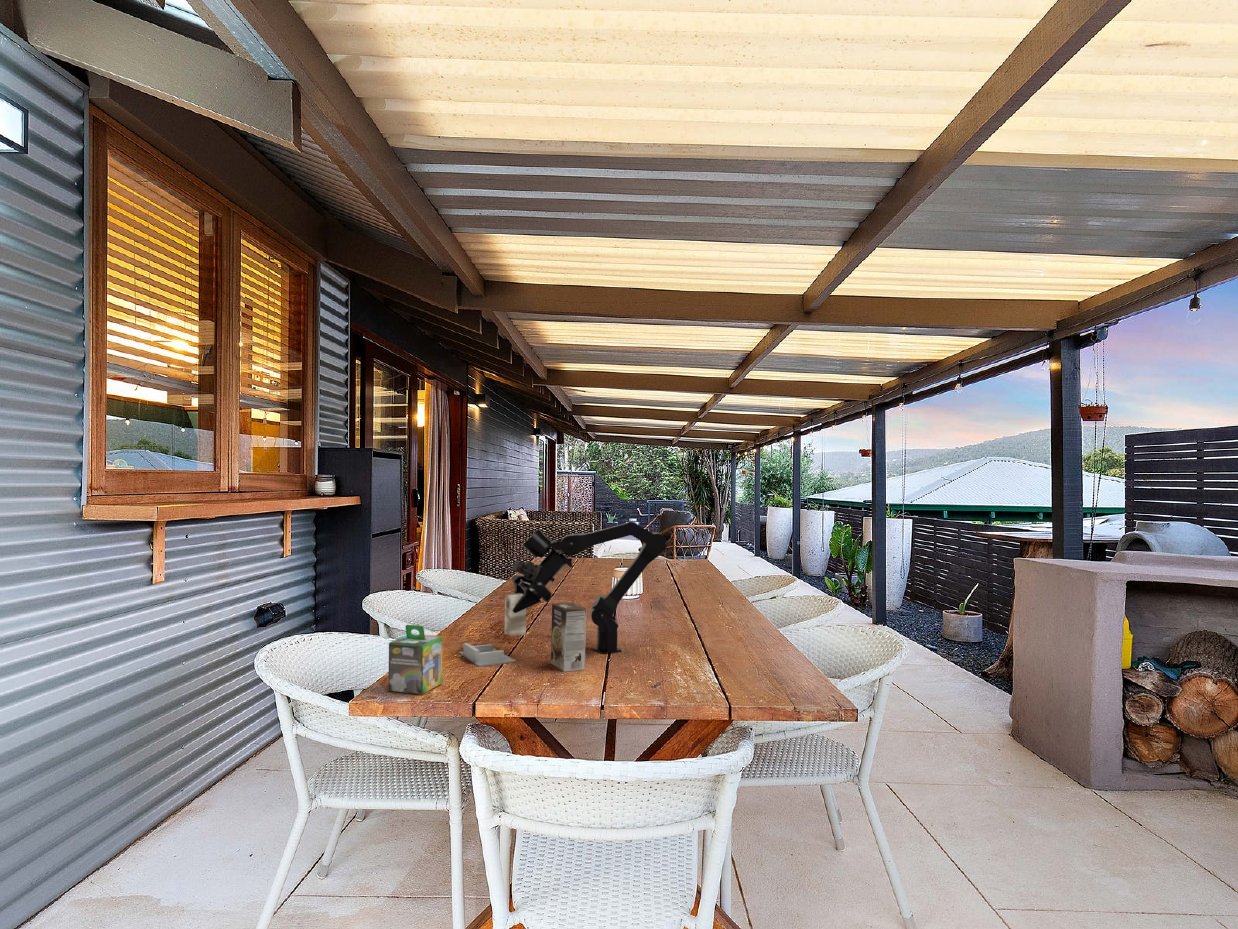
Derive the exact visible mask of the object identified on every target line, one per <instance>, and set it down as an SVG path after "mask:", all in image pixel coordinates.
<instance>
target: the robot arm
mask: <svg viewBox="0 0 1238 929" xmlns="http://www.w3.org/2000/svg"><path fill="white" fill-rule="evenodd" d="M629 536H632V537H634V538H635V539H637V540H638V541H640V542H642V543H643V544H642V545H641V547H640V549H639V552H638V555H636V557H635V558H634V560H633V561H632V562H631V564H629V566H628V567H627V569H625V571H624V572H623V574H622V575H621V576H620V578H619V579H618V581H617V582H616V583H615V584H614V586H613V587H612V588H611V589H610V590H609V592H608V593H606V594H605V595H602V593H599V595H598V597H597V598H596V600H595V601H594V602H592V603H591V609H590V615H591V616H590V617H591V620H592V621H591V622H593V624H594V625H596V626H597V629H596V630H597V631H596V646H594V647H593V646H592V650H593V651H596V652H598V653H600V654H610V653H611V654H612V653H619V652H622V651H623V650H622V648H619V647H618V633H619V632H618V628H619V623H618V620H617V618H616V617H615V616H614V614H615V612H616V610H617V608H618V605H619V604H620V601H621V600H622V599H623V598H624V596H625V595H626V593H627V592H628V591H629V589H631V587H632V586H633V585H634V583H635V582H636V581H637V579H638V578H639V577H640V576H641V574H642V573H643V572H644V571H645V569H646V568H647V567H648V565H649V564H650V563H651V562H653V561H655V559H657V558H658V557H659V556H660V555H662V554H663V552H664V551H666V549H667V547H668V541H667V538H666V536H664V535H663V534H661V533H659V532H656V531H655V532H654V531H653V532H651V531H650V530H648V529H646V528H644V527H642V526H640V525H639V524H637V523H636V522H635V521H632V520H630V521H626V522H625V523H621V524H617V525H614V526H610V527H606V528H603V529H599V530H595V531H592V532H581V533H580V532H579V533H570V534H567V535H565V536H563V538H562V539H554V540H550V539H549V537H548V536H546V535H545V534H544V533H543V531H542V530H541V529H540V528H538V529H537V530H536V531H535V532H534V533H533V534H532V535H531V536H529V538H527V540H526V541H525V542H523V544H522V545H521V546H522V547H523V548H524V549H525V550H526V551H528V553H530V555H532V557H534V558H535V559H538V558H540V559H542V558H543V557H544V558H543V559H542V561H540V563H539V564H535V563H534V562H533V561H530V560H527V561H526V562H523V561H520V560H517V559H516V560H515V562H513V566H512V568H511V571H513V572H514V573H515V572H516V573H517V574H515V575H513V577H512V578H511V579H510V580H511V581H512V583H513V586H514V591H513V593H522V594H523V596H522V597H521V599H520V600H519V601H518V603H517V604H516V606H515V607H514V609H513V612H514V613H517V612H519V611H521V610H523V609H526V610H527V608H530V607H532V606H534V605H537V604H539V603H542V601H543V602H544V603H547V604H548V603H549V601H551V599H552V597H553V595H552V594H553V593H552V592H551V591H550V590H549V588H547V586H548V585H549V583H550V582H551V583H554V581H555V580H556V579H555V576H556V575H557V574H558V573H560V571H561V570H562V568H564V567H566V568H567V569H571V568H573V563H572V561H573V558H571V557H570V558H568V557H567V556H574V555H578V554H579V553H581V552H584V551H585V550H587V549H589V548H591V547H593V546H596V545H600V544H604V543H607V542H611V541H613V540H617V539H622V538H625V537H629ZM558 551H559V553H558ZM548 552H549V553H548ZM547 553H548V554H547ZM545 555H546V556H545ZM520 574H521V575H520ZM541 599H542V600H541Z"/></svg>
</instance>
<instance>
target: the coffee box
mask: <svg viewBox="0 0 1238 929" xmlns="http://www.w3.org/2000/svg"><path fill="white" fill-rule="evenodd" d="M586 637H587V608H586V607H584V606H581V605H579V604H576V603H574V602H557V603H552V604H551V638H550V639H551V642H550V644H551V645H550V646H551V648H550V649H551V650H550V664H551V665H553V666H554V667H556V668H558V669H559V670H561V671H562V672H564V673H565V672H574V671H575V672H576V671H583V670H585V669H586V641H587V640H586V639H587V638H586Z"/></svg>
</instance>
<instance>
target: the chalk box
mask: <svg viewBox="0 0 1238 929" xmlns="http://www.w3.org/2000/svg"><path fill="white" fill-rule="evenodd" d="M424 628H425V627H424V626H423V625H420V624H419V625H417V624H415V625H414V624H406V625H405V634H406V635H405V636H401V637H399V638H396V639H394V640H392V641H389V643H388V692H394V693H395V692H396V693H404V694H410V695H418V696H422V695H424V694H425V693H428V692H429V691H431V690H433V689H434V688H437V687H438V686H440V685H442V684H443V636H442V635H434V634H425V629H424ZM413 630H414V631H415V630H416V631H417V632H418V634H413V633H412V631H413Z"/></svg>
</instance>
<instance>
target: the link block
mask: <svg viewBox="0 0 1238 929" xmlns="http://www.w3.org/2000/svg"><path fill="white" fill-rule="evenodd" d="M522 596H523V594H522V593H514V592H513V593H505V594H504V634H506V635H508V636H510V637H515V636H525V635H526V630H527V628H526V627H527V608H526V609H523V610H521V611H519V612H517V613H514V612H513V609H514V607H515V606H516V604H517V603H518V601H519V600H520V599H521V597H522Z"/></svg>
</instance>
